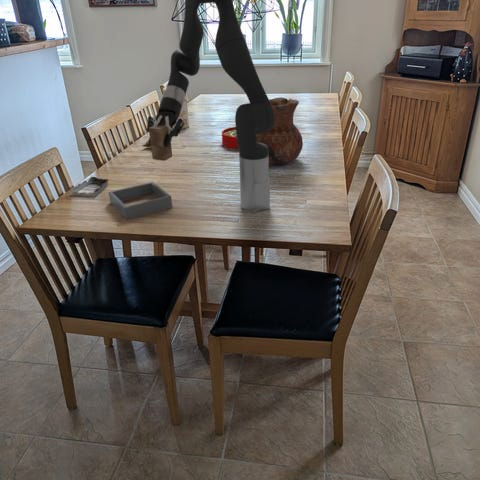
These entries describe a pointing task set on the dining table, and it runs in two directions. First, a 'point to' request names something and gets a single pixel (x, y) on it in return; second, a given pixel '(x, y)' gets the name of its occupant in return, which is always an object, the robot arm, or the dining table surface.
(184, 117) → the coffeecake box
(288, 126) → the jug
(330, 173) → the dining table surface
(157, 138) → the walnut block
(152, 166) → the dining table surface
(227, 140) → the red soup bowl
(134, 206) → the box
